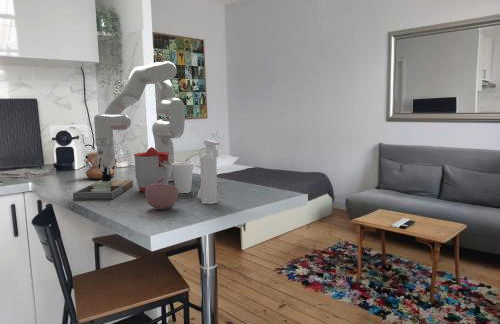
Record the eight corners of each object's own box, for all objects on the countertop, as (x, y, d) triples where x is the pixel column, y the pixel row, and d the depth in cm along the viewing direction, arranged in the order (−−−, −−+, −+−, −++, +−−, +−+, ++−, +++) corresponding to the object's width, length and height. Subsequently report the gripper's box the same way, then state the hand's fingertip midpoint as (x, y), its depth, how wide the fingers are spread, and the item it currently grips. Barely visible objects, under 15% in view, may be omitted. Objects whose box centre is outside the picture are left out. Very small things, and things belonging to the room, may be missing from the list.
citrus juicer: (156, 195, 161) (154, 149, 159) (128, 191, 170) (125, 147, 168) (180, 189, 175) (179, 146, 172) (153, 185, 184) (151, 144, 181)
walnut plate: (133, 186, 182) (132, 180, 182) (123, 192, 168) (123, 185, 168) (100, 186, 182) (99, 180, 182) (87, 192, 168) (87, 186, 168)
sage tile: (112, 185, 169) (112, 181, 168) (106, 188, 163) (106, 184, 162) (99, 185, 169) (98, 181, 169) (93, 188, 163) (92, 184, 163)
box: (123, 192, 168) (122, 186, 168) (112, 199, 155) (111, 192, 154) (87, 192, 168) (87, 186, 168) (73, 200, 155) (72, 193, 154)
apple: (180, 204, 146) (180, 175, 144) (175, 213, 134) (174, 181, 133) (149, 205, 146) (148, 176, 144) (142, 213, 134) (140, 182, 132)
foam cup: (173, 195, 162) (172, 165, 160) (171, 191, 171) (170, 162, 169) (195, 194, 164) (194, 164, 163) (192, 189, 173) (192, 161, 171)
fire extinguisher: (205, 197, 157) (203, 137, 152) (224, 203, 148) (223, 140, 144) (191, 200, 152) (190, 139, 148) (211, 207, 144) (210, 142, 139)
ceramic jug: (91, 182, 194) (89, 154, 192) (79, 178, 203) (78, 152, 202) (123, 178, 207) (122, 152, 205) (110, 174, 216) (110, 150, 215)
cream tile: (110, 191, 167) (110, 187, 166) (105, 194, 161) (105, 190, 160) (97, 191, 167) (97, 187, 167) (91, 194, 161) (91, 190, 161)
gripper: (106, 143, 160) (109, 186, 163) (118, 141, 175) (120, 179, 178) (89, 144, 160) (91, 186, 163) (102, 141, 175) (104, 180, 178)
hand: (106, 182), depth 170 cm, fingers closed
